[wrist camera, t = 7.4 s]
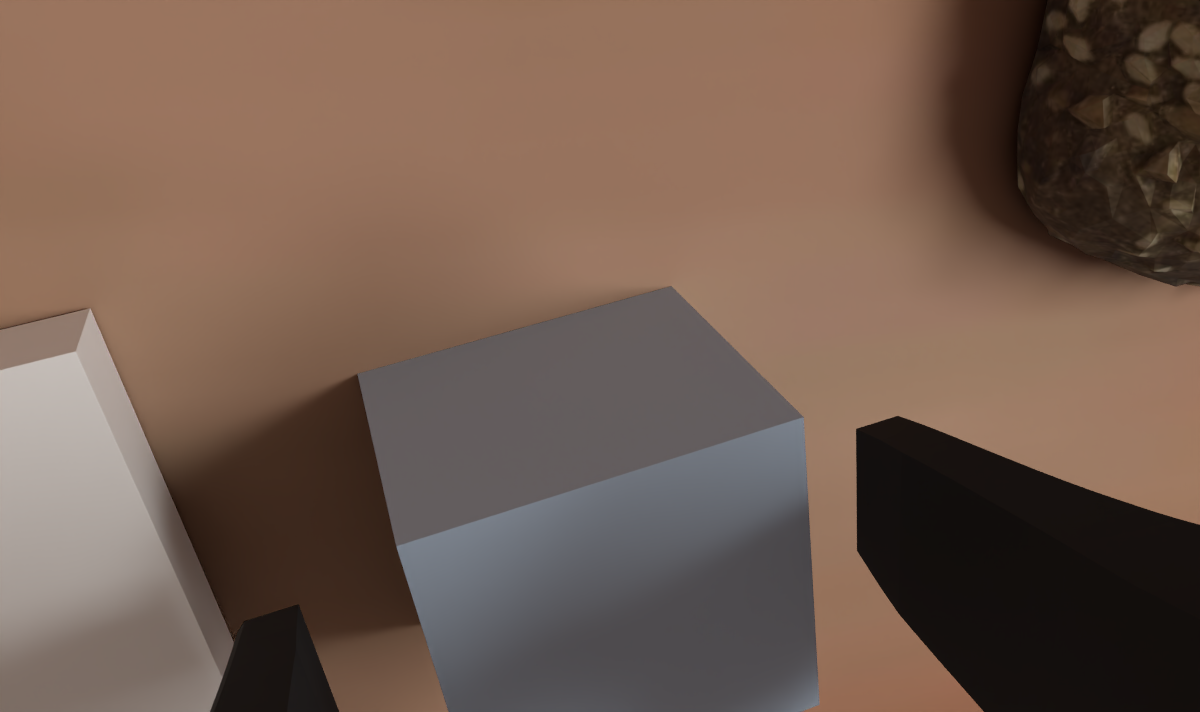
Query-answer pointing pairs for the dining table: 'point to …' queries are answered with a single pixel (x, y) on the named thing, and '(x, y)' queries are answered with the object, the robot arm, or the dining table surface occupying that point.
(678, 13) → the dining table surface
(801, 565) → the slate block
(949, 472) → the robot arm
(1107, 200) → the bread roll
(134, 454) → the baseplate
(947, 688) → the dining table surface
